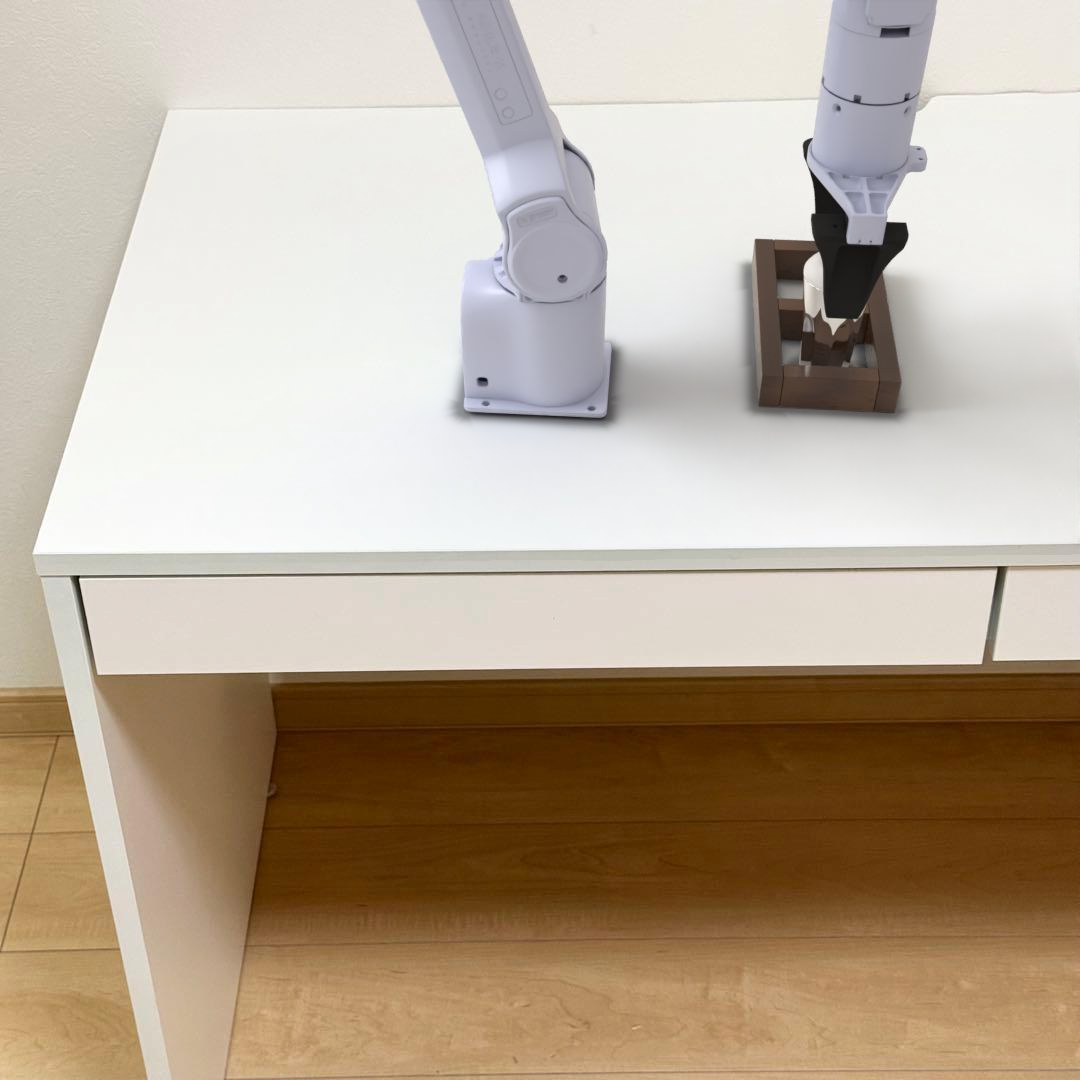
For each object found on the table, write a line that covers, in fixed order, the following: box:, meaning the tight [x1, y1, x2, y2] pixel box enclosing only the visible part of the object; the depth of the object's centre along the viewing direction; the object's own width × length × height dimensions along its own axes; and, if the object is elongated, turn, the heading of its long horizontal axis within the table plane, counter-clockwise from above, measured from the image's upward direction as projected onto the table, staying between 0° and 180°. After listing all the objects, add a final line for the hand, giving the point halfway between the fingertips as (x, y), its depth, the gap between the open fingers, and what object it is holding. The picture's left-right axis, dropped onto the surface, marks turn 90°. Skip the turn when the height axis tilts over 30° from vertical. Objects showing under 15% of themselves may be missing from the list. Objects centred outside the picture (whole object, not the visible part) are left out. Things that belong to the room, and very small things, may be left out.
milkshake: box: [798, 252, 868, 367], centre depth 90 cm, size 4×5×10 cm
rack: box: [750, 238, 903, 414], centre depth 95 cm, size 9×17×3 cm, turn 175°
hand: (837, 281), depth 88 cm, fingers open, 7 cm apart
